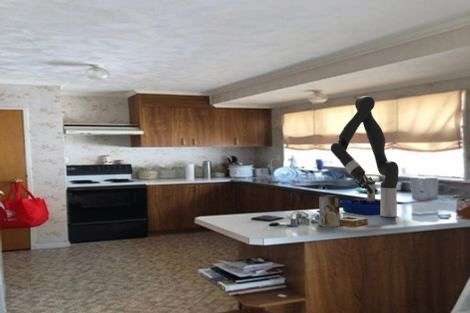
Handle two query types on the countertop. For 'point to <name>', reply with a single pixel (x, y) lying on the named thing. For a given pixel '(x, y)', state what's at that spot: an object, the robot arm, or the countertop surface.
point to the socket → (353, 221)
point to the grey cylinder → (372, 185)
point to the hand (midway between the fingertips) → (374, 192)
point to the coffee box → (329, 211)
